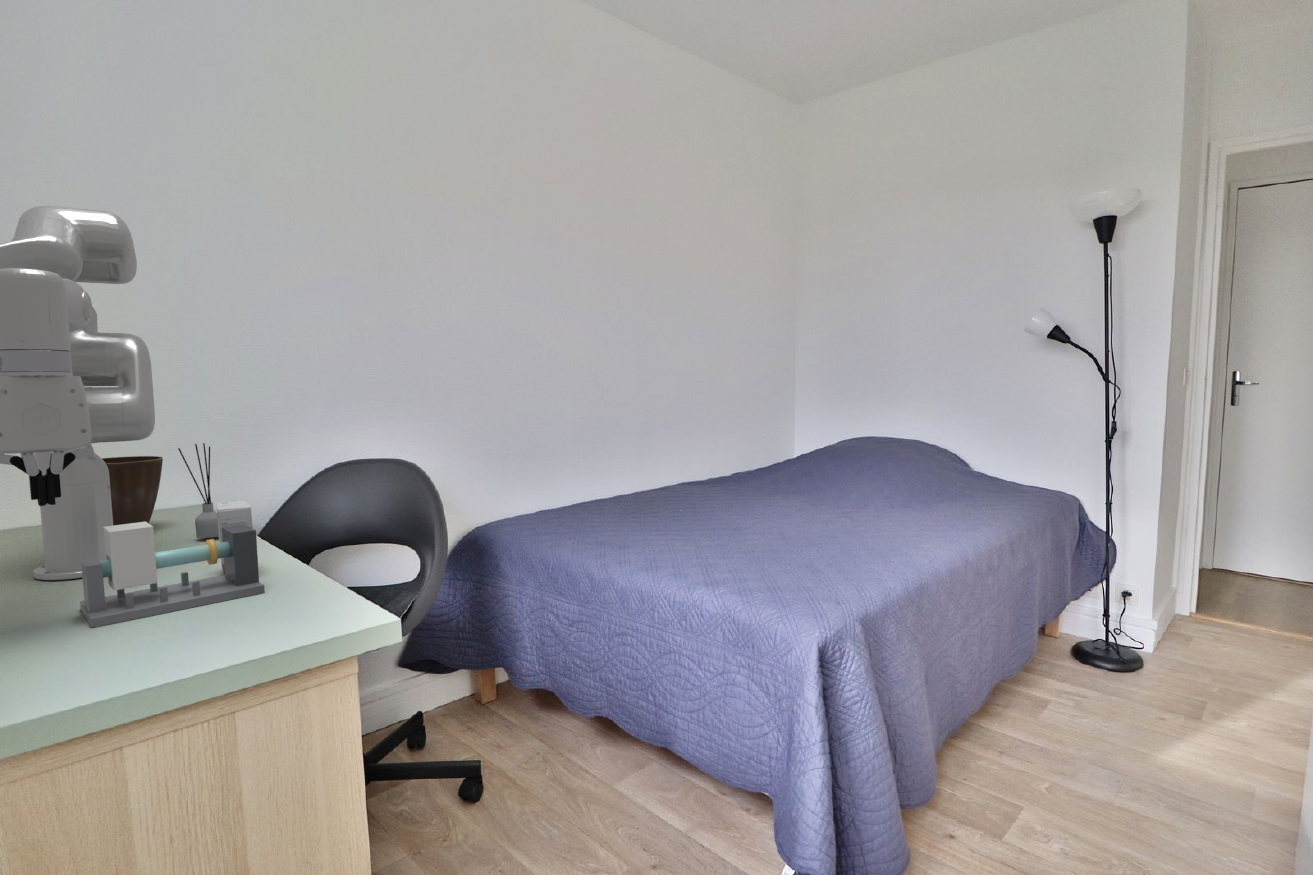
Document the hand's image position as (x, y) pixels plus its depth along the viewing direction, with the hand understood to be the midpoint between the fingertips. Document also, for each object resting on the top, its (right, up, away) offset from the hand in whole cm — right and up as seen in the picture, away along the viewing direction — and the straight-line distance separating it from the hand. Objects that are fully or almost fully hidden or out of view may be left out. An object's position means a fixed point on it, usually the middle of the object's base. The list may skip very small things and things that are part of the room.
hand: (46, 504), depth 94 cm
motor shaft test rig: (+9, -16, +11) cm, 21 cm away
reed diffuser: (-12, -12, +52) cm, 55 cm away
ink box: (+10, -14, +26) cm, 32 cm away
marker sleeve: (+6, -12, +8) cm, 15 cm away
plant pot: (-34, -12, +60) cm, 70 cm away
